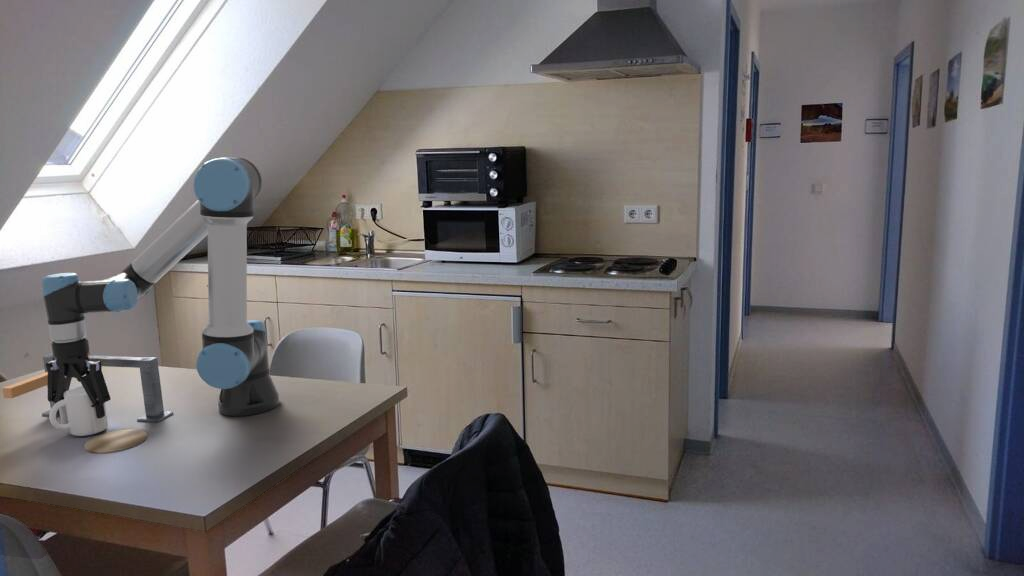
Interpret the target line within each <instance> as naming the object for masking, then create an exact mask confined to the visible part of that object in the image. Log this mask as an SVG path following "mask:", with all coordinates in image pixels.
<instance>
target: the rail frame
mask: <svg viewBox="0 0 1024 576" xmlns="http://www.w3.org/2000/svg"><path fill="white" fill-rule="evenodd" d="M88 358H89V359H90V361H92V362H97V361H100V362H101V365H102V367H109V368H110V367H111V368H112V367H114V368H132V369H133V368H136V369H137V368H138V369H139V372H140V379H141V388H142V396H143V404H144V412H145V414H143V415H142V416H140V417H138V418H136V421H137V422H146V423H148V422H149V423H160V422H161V421H163V420H165V419H167V418H169V417H170V416H172V415H174V411H168V410H166V411H165V409H164V401H163V395H162V385H161V384H162V383H161V378H160V377H161V376H160V370H159V361H158V357H157V356H156V357H153V356H151V357H149V356H147V357H143V356H142V357H141V356H140V357H139V356H138V357H137V356H116V355H115V356H113V355H91V354H90V355H88ZM42 359H43V360H42V361H43V368H44V373H46V372H48V371H47V368H46V363H48V362H51V361H54V360H57V358H55V357H54V356H53V353H51V354H48V355H44V356H42ZM46 387H47V388H48V385H46ZM53 395H54V394H53ZM54 404H55V403H54V402H52V401H51V402H49V405H50V409H49V410H46V411H45V412H41V415H42V417H43V416H44V417H49V414H50V410H51V408H52V407H53V406H54ZM57 417H59V415H58V410H57V412H56V418H57Z"/></svg>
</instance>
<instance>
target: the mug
mask: <svg viewBox="0 0 1024 576" xmlns="http://www.w3.org/2000/svg"><path fill="white" fill-rule="evenodd" d="M97 400H98V399H97ZM91 405H93V404H92V402H91V400H90V398H89V397H88V395H87V393H86V391H85V389H84V388H83V386H82V385H80V386H76V387H72V388H69V390H67V391H65V392H64V399H63V400H61V401H59V402H57V403H56V404H54V406H53V407H52V408H51V407H50V409H49V410H50V414H49V416H48V417H49V421H50V423H51V426H52V427H54V429H57V430H60V431H62V430H66V431H68V430H69V433H70V434H71V435H72V436H76V437H85V436H87V437H88V436H91V435H96V434H99V433H102V432H103V431H105V430H106V429H107V428H108V425H109V420H108V415H107V408H106V402H105V403H104V411H105V416H104V423H105V429H103V430H101V431H99V432H97V433H94V428H93V422H92V415H91V409H90V406H91ZM63 406H66V412H67V418H68V424H61V422H58V420H57V416H56V412H57V410H58V409H59V408H60V407H63Z"/></svg>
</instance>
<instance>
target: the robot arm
mask: <svg viewBox="0 0 1024 576" xmlns="http://www.w3.org/2000/svg"><path fill="white" fill-rule="evenodd" d="M262 187H263V178H262V173H261V172H260V170H259V168H258V167H257V166H256V165H255V163H253V162H251V161H250V160H248V159H246V158H243V157H239V156H233V157H232V156H231V157H225V156H223V157H217V158H213V159H210V160H207V161H206V162H204V164H202V165H201V166H200V167H199V168H198V170H197V171H196V173H195V176H194V178H193V191H194V194H195V197H196V198H197V200H196V201H194V203H193V204H192V205H191V206H190V207H189V208H187V210H186V211H184V212H183V213H182V214H181V215H180V216H179V217H178V218H177V219H176V220H175V221H174V222H173V223H171V225H170V226H168V228H166V230H164V231H163V232H162V233H161V234H160V235H159V236H158V237H157V238H156V239H155V240H154V241H152V242H151V243H150V244H149V246H147V247H146V248H145V249H144V250H143V251H142V252H140V254H139V255H138V256H137V257H135V258H134V260H133V261H131V263H129V264H128V265H127V266H126V267H125V268H124V269H123V270H122V271H121V272H120V273H118V274H115V275H113V276H110V277H109V278H108V277H107V278H105V279H102V280H86V281H85V280H84V281H83V280H81V281H80V278H79V275H78V274H77V273H76V272H60V273H54V274H48V275H46V276H44V277H43V278H42V280H41V284H42V297H43V300H44V306H45V311H46V316H47V325H48V331H49V339H50V341H52V342H51V350H52V351H51V352H52V354H53V356H54V357H55V358H57V360H54V361H51V362H48V363H46V368H47V371H48V387H47V401H48V402H49V403H50V402H51V401H52V402H54V403H55V404H56V403H57V402H59V401H61V400H63V399H64V392H65V391H67V390H69V389H70V387H71V383H72V379H73V378H74V379H76V380H77V382H79V383H80V384H81V386H83V388H84V389H85V391H86V393H87V395H88V397H89V398H90V400H91V402H92V404H93V405H91V406H90V409H91V415H92V422H93V428H94V433H96V434H98V433H97V432H99V431H101V430H103V429H105V423H104V416H105V411H104V403H105V404H106V403H107V402H109V401H110V400H111V396H110V392H109V389H108V386H107V383H106V379H105V377H104V374H103V371H102V370H103V369H102V367H103V366H102V365H101V362H100V361H97V362H92V361H90V359H89V358H88V352H89V351H90V350H91V349H90V343H89V338H88V337H87V326H86V320H85V319H86V318H85V314H92V313H93V314H94V313H95V314H96V313H111V312H112V313H120V312H125V311H126V312H127V311H131V310H134V308H135V306H136V304H137V302H138V300H141V299H143V298H144V297H145V296H146V295H147V294H148V293H150V291H151V289H152V287H154V285H155V284H156V283H157V282H159V280H160V279H161V278H162V277H163V276H164V275H166V274H167V273H168V272H169V271H170V270H171V269H172V268H174V266H175V265H176V264H177V263H179V262H180V261H181V260H182V259H183V258H185V256H186V255H187V254H188V253H189V252H190V251H191V250H193V249H194V248H195V247H196V246H197V245H198V244H199V243H201V241H202V240H204V239H205V238H206V237H207V286H208V287H207V289H208V290H207V291H208V292H207V293H208V297H207V299H208V302H207V303H208V304H207V305H208V324H207V325H206V326H205V327H203V328H202V330H201V350H200V351H199V354H198V356H197V359H196V363H195V364H196V366H195V367H196V372H197V374H198V376H199V377H200V379H201V380H202V381H204V382H205V384H207V385H208V386H210V387H212V388H216V389H217V390H218V389H219V390H220V393H219V397H218V401H217V405H218V412H219V413H220V414H221V415H225V416H228V417H229V416H231V417H243V416H244V417H245V416H252V415H258V414H262V413H266V412H269V411H271V410H273V409H274V408H277V406H279V404H280V395H279V392H278V390H277V388H276V385H275V384H274V381H273V379H272V377H271V374H270V364H269V363H270V362H269V361H270V360H269V352H268V342H267V330H266V325H265V322H264V321H262V320H259V319H248V277H247V276H248V275H247V274H248V271H247V270H248V263H247V262H248V258H247V257H248V255H247V254H248V253H247V252H248V251H247V250H248V245H247V243H248V241H247V238H248V237H247V234H248V233H247V232H248V231H247V229H248V223H249V222H250V221H252V219H253V218H254V200H255V199H257V198H258V196H259V195H260V193H261V192H262V191H261V190H262ZM53 394H54V395H53ZM97 399H98V400H97ZM58 415H59V417H60V418H59V419H60V424H68V418H67V412H66V406H63V407H60V408H59V409H58ZM105 430H106V429H105ZM61 431H62V432H66V431H67V430H61ZM103 431H104V430H103ZM101 432H102V431H101ZM99 433H100V432H99Z"/></svg>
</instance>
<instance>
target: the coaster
mask: <svg viewBox="0 0 1024 576" xmlns="http://www.w3.org/2000/svg"><path fill="white" fill-rule="evenodd" d="M147 438H148V434H147V432H146V431H144V430H141V429H135V428H134V429H133V428H130V429H127V428H126V429H119V430H113V431H109V432H105V433H102V434H99V435H95V436H94V437H92V438H90V439H88V440H87V441H86V442H85V443H84V450H85V451H86V452H89V453H94V454H106V453H107V454H108V453H115V452H120V451H123V450H127V449H130V448H133V447H136V446H138V445H140V444H142V443H143V442H145V441H146V440H147Z"/></svg>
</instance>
